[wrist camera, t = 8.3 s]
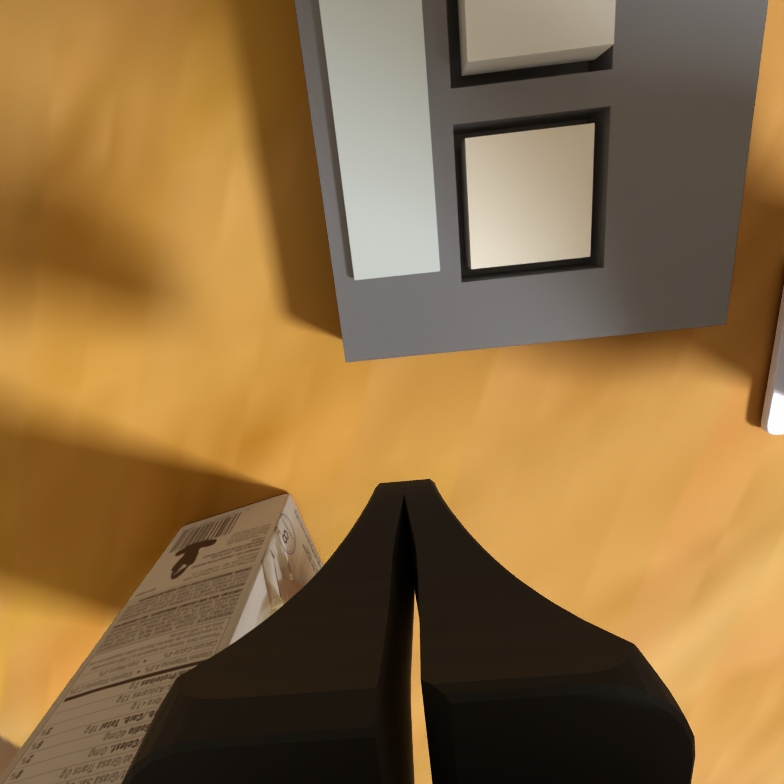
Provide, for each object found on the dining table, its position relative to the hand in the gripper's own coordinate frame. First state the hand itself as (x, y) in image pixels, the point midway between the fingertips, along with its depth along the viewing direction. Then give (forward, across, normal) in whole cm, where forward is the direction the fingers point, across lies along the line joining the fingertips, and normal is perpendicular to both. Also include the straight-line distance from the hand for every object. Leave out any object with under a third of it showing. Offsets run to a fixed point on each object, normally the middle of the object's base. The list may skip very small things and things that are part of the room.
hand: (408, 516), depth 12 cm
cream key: (+9, -5, -7) cm, 12 cm away
